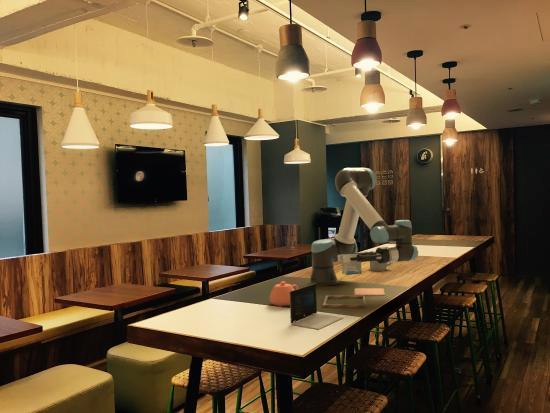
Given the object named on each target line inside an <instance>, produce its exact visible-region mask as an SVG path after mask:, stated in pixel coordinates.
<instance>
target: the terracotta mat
mask: <svg viewBox="0 0 550 413" xmlns="http://www.w3.org/2000/svg"><path fill="white" fill-rule="evenodd" d="M353 296H386V294H385V289H384V288H378V287H377V288H376V287H375V288H374V287H373V288H370V287H369V288H361V287H360V288H359V287H358V288H354V295H353Z"/></svg>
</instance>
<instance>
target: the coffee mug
mask: <svg viewBox="0 0 550 413" xmlns="http://www.w3.org/2000/svg"><path fill="white" fill-rule="evenodd" d="M391 265H392V264H391V263H382V264H380V263H378V262H377V261H369V270H370V271H374V272H375V271H376V272H379V271H386V270H387V267H390V266H391Z"/></svg>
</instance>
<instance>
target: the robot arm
mask: <svg viewBox="0 0 550 413" xmlns="http://www.w3.org/2000/svg"><path fill="white" fill-rule="evenodd" d="M376 179H377V178H376V175H375V173H374V171H373V170H372V169H370V168H367V167H345V168H342V169H341V170H339V171H338V172H337V173H336V176H335V180H334V185H335V188H336V190H337V192H338V193H339V194H340V196H341V197H345V199H346V201H345V205H344V209H343V214H342V217H341V221H340V225H339V230H338V233H336V234H335V235H334V238H333V239H331V238H325V239H318V240H315V241H313V242H312V243H311V250H310V251H311V252H310V253H311V273H310V276H309V281H308V283H309V285H311V284H314V283H316V287H317V286H319V287H323V286H324V287H328V286H333V285H337V284H338V277H337V274H336V272H335V268H334V266H335V265H334V264H335V263H339V262H341V263H342V260H341V255H351V254H357V256H356V255H354V256H343V263H347V262H357V261H358V262H360V261H361V263H363V262H370V261H377V262H378V263H380V264H382V263H388V264H389V263H391V265H393V263H401V262H411V261H416V260H417V258H418V257H419V250H418V247H417V246H416V245H415V244H413V233H412V232H413V228H412V222H411V220H409V219H399V220H398V219H397V220H395V221H394V224H392V225H388V224H387V223H386V222H385V221H384V219H383V218H382V216H381V215H380V214H379V213H378V212H377V211H376V209H375V208H374V206H373V205H371V202H369V201H368V199H367V198H366V197H368V194H369V191H372V190H373V189H374V188H375V186H376V183H377V181H376ZM359 218H361V220H362V221H363V222H364V224H365V225H366V226H367V228H368V230H370V232H369V236H370V239H371V240H372V242H373V243H375V244H384V243H390V242H395V245H391V246H380V247H377V248H376V249H375V251H373V250H371V251H363V252H358V251H359V250H358V245H357V242H356V239H355V238H354V237H355V233H356V230H357V226H358V223H359V222H358V221H359ZM359 254H360V256H359Z"/></svg>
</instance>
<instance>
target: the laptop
mask: <svg viewBox="0 0 550 413" xmlns="http://www.w3.org/2000/svg"><path fill="white" fill-rule="evenodd" d="M317 306H318V303H317V286H316V283H314V284H308V285H306V286H302V287H298V289H296V288H295V289H294V290H293V291H290V305H289V308H290V309H289V312H290V317H289V318H290V324H291V326H295V327H296V326H297V327H302V328H306V329H313V330H321V329H323V328H325V327H327V326H329V325H331V324H333V323H336V322H338V321H340V320H342V319H344V317H343V316H336V315H332V314H323V313H318V310H317V309H318V308H317Z"/></svg>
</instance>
